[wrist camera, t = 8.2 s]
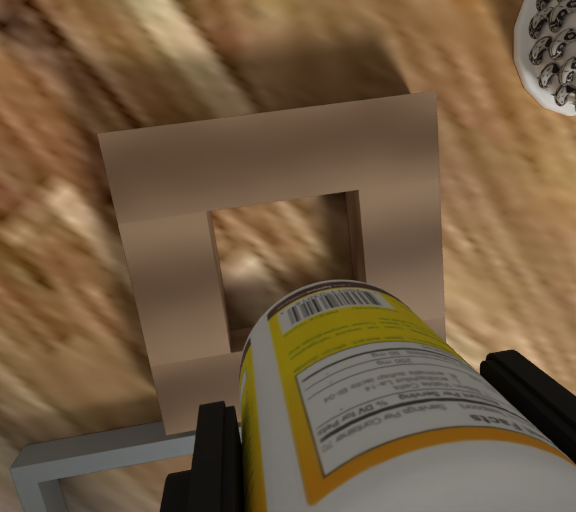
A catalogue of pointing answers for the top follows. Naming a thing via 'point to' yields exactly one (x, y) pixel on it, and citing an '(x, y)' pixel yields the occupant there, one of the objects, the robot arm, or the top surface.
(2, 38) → the top surface
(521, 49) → the decorative candle
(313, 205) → the top surface
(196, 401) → the socket block
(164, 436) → the square frame
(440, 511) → the supplement bottle
